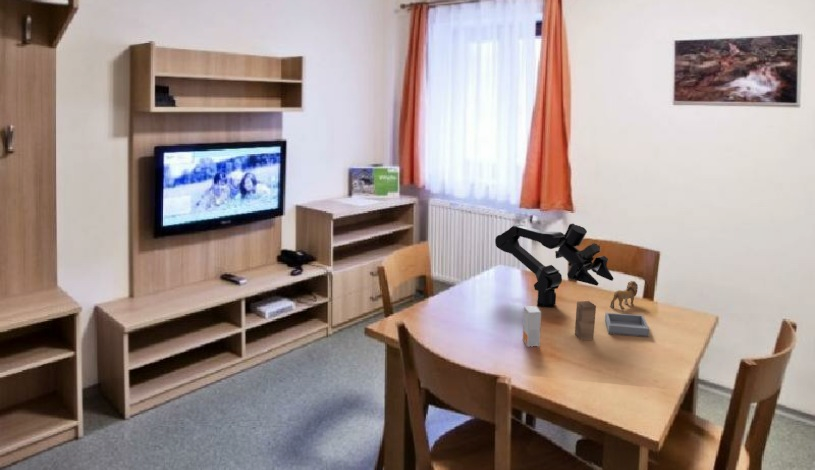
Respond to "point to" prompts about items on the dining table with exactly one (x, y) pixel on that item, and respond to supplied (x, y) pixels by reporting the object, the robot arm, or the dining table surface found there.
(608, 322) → the tray
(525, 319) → the skincare box
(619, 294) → the lion figurine
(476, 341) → the dining table surface
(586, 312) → the walnut block
